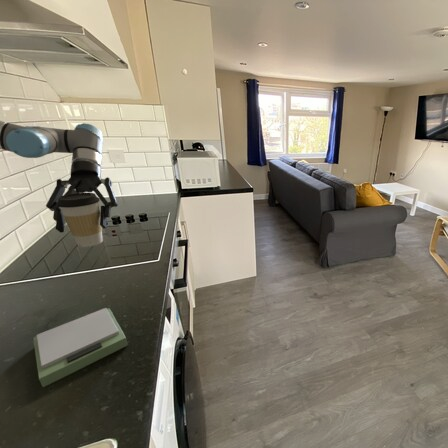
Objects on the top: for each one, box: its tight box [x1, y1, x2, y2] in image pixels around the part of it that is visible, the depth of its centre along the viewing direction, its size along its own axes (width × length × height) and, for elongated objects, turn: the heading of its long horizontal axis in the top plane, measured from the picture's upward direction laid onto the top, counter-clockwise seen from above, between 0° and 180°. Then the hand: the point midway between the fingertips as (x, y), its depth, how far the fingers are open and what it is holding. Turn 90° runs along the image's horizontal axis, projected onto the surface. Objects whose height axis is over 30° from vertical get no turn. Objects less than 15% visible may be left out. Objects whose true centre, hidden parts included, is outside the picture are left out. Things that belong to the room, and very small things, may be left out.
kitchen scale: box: [32, 307, 129, 388], centre depth 61 cm, size 15×15×3 cm
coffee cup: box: [57, 192, 104, 248], centre depth 79 cm, size 10×10×15 cm
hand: (81, 228), depth 77 cm, fingers closed on coffee cup, 10 cm apart
